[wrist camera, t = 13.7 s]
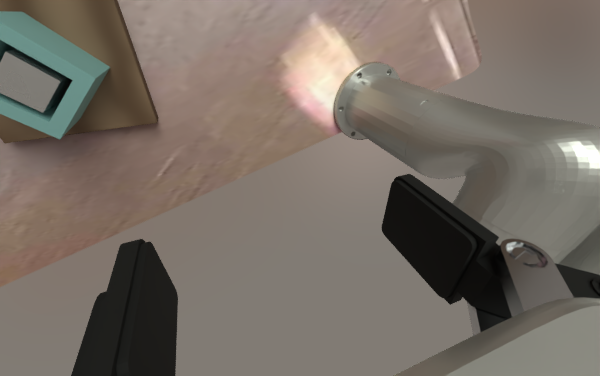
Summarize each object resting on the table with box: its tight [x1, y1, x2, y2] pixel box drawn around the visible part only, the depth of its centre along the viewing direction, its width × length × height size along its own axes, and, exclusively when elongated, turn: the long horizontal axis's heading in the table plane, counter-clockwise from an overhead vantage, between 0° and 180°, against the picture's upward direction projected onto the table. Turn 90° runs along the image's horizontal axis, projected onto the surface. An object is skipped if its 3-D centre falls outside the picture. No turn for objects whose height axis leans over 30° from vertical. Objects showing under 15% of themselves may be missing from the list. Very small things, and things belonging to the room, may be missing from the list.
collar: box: [0, 11, 110, 139], centre depth 23 cm, size 7×7×6 cm
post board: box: [0, 0, 158, 143], centre depth 24 cm, size 15×13×8 cm
